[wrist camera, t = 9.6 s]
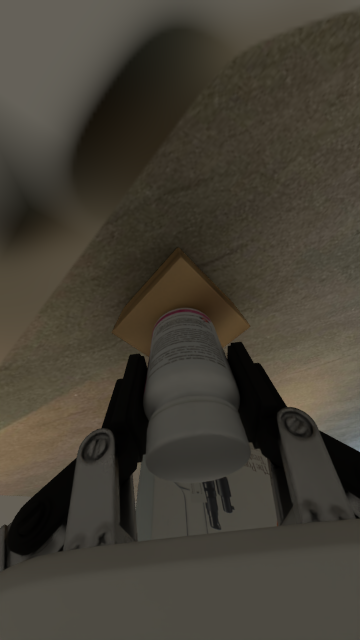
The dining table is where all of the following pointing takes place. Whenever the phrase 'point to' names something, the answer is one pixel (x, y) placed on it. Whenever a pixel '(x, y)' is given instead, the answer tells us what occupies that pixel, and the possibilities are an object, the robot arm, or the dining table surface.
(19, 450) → the dining table surface
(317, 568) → the robot arm
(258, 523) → the skincare box
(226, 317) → the block
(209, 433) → the pill bottle
